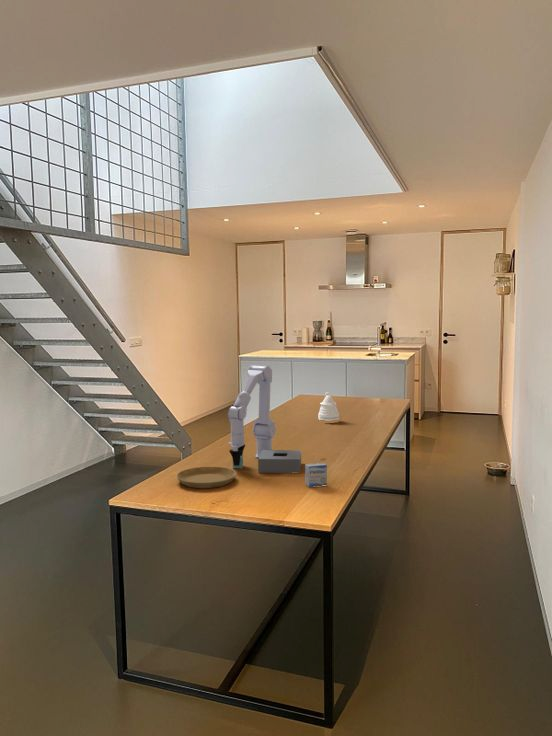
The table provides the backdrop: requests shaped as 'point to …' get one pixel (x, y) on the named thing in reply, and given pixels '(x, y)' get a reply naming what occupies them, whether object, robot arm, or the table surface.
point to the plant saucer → (206, 477)
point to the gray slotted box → (279, 461)
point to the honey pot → (328, 409)
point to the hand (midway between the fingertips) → (237, 463)
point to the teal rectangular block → (239, 463)
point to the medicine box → (315, 474)
